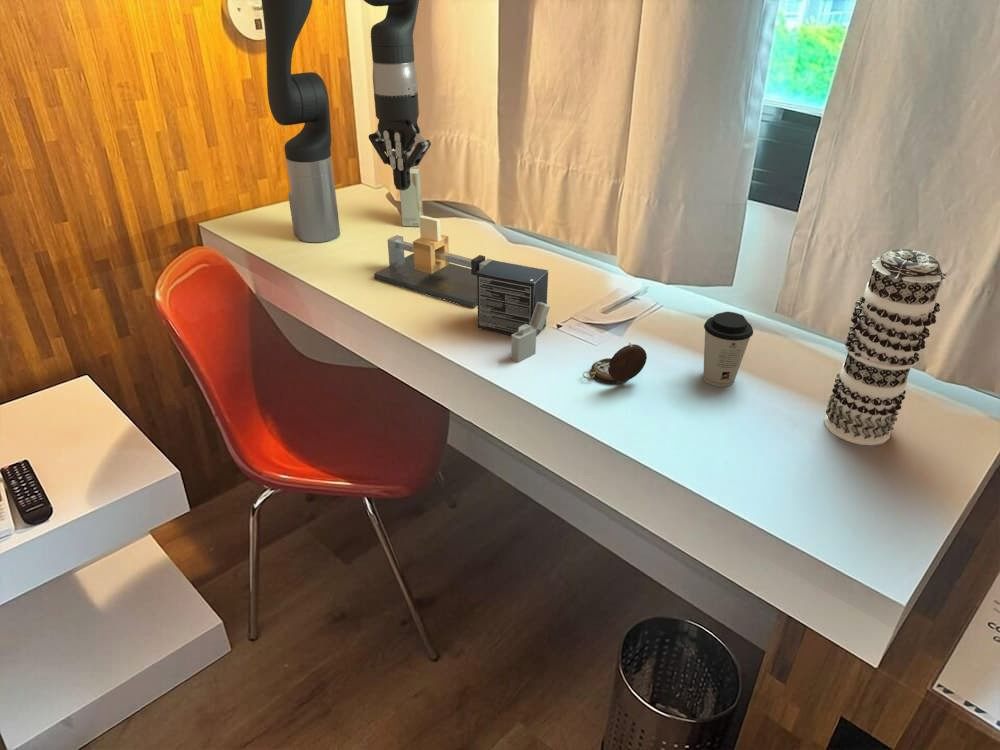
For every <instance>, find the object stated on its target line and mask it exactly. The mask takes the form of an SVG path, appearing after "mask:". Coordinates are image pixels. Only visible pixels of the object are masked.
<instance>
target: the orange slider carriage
mask: <svg viewBox="0 0 1000 750" xmlns="http://www.w3.org/2000/svg"><path fill="white" fill-rule="evenodd" d="M441 231H442V229H441V219H439V218H436V217H430V216H428V215H423V216H421V217H420V226H419V232H420V237H419V238H417V239H415V240H413V241H412V244H413V249H414V253H413V254H414V265H415V269H416V270H419V271H423V272H426V273H430V274H433V273H434V272H436V271H438V270H440V269H441V268H443V267H445V266H447V265H448V264H449V263H450V262H447V261H443V260H439V259H436V258H435V250H439V251H443V252H447V253H450V252H449V251H450V248H449V247H450V246H449V243H450V242H449V236H448V235H444V234H442V232H441Z"/></svg>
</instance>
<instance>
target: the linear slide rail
mask: <svg viewBox="0 0 1000 750" xmlns="http://www.w3.org/2000/svg"><path fill="white" fill-rule="evenodd" d="M387 251H388V263H389V265H388V266H385V267H383V268H382V269H380V270H378V271H376V272H374V273H373V277H374V280H377V281H379V282H383V283H386V284H390V285H392V286H396V287H399V288H403V289H405V290H406V289H407V290H409V291H412V292H416V293H419V294H423V295H426V294H427V295H426V296H429V295H430V297H433V298H436V297H437V298H436V299H439V298H441V299H440V300H443V299H445V300H444V301H446V300H447V302H449V301H451V302H450V303H453V302H454V303H453V304H456V303H457V304H456V305H459V304H460V306H463V307H466V308H470V309H474V308H475V307H478V298H477V291H478V289H477V271H479V270H480V269H482V268H483V267H484V266H485V265H487V264H488V263H489V262H491V261H492V260H493V259H491V258H487V259H486V256H485V255H482V254H479V255H477V256H476V257H474V258H469V257H465V256H461V255H458V254H454V253H450V252H449V253H447V252H443V251H439V250H435V258H436V259H439V260H443V261H447V262H449V264H448V265H447V266H445V267H443V268H441V269H440V270H438V271H436V272H434V273H433V274H430V273H426V272H423V271H419V270H416V269H415V265H414V249H413V242H408V241H406V240H405V241H404V236H401V235H397V234H396V235H394V236H392V237H389V238H388V239H387ZM405 251H406V252H410V253H411V254H410V255H407V256H405Z"/></svg>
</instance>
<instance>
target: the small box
mask: <svg viewBox="0 0 1000 750" xmlns="http://www.w3.org/2000/svg"><path fill="white" fill-rule="evenodd" d="M548 281H549V269H544V268H538V267H532V266H527V265H521V264H516V263H511V262H505V261H499V260H495V259H492V261H491V262H489V263H488V264H487V265H485V266H484V267H483V268H482V269H480V270H479V271H477V289H478V291H477V298H478V305H477V326H476V327H477V329H478V330H479V329H480V330H483V331H489V332H493V333H497V334H502V335H506V336H511V337H512V334H514V333H516V332H518V327H520V326H522V325H525V324H527V325H529V324H530V321H531V318H532V316H533V313H534V310H535V307H536V304H537V302H541V303H545V304H547V305H548V286H549V282H548ZM546 327H547V319H546V320H545V323H544V326H543V329H542V330H536V337H538V336H539V334H541V332H542V331H543V330H544V329H545V328H546Z"/></svg>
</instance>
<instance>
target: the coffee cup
mask: <svg viewBox="0 0 1000 750" xmlns="http://www.w3.org/2000/svg"><path fill="white" fill-rule="evenodd" d="M703 328H704V349H703V350H704V351H703V373H702V377H703V379H704V380H705V382H706V383H708V384H710V385H713V386H716V387H729V386H732V385H733V384H734V383H735V380H736V377H737V375H738V372H739V369H740V366H741V363H742V360H743V358H744V355H745V352H746V349H747V347H748V344H749V342H750V339H751V337H752V336H753V335H754V329H753V327H752V324H751V323H750V322H749V321H748V320H747V319H746V317H745V316H744V315H743V314H742V313H741V314H740V313H738V312H732V311H723V312H719V313H716V314H714V315H713V316H711V317H709V318H708V319H707V320H706V321H705V322H704V325H703Z"/></svg>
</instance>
